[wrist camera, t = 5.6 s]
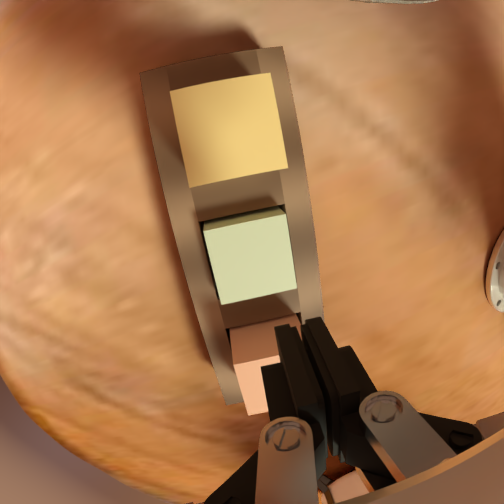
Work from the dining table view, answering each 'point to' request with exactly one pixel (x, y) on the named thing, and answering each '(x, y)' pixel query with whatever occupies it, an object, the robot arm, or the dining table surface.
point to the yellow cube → (229, 129)
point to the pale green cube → (250, 254)
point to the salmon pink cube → (256, 357)
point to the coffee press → (341, 488)
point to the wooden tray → (233, 203)
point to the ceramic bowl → (397, 1)
